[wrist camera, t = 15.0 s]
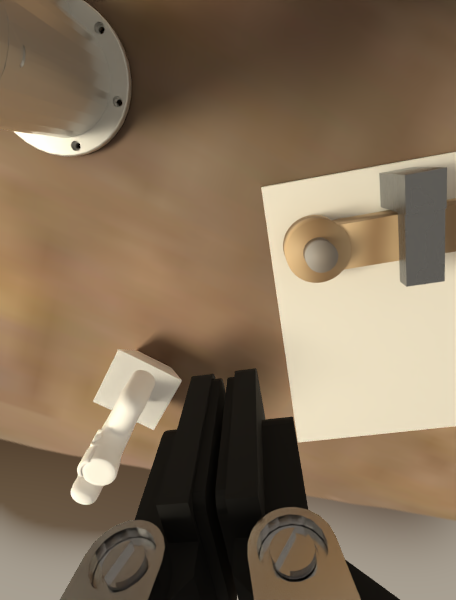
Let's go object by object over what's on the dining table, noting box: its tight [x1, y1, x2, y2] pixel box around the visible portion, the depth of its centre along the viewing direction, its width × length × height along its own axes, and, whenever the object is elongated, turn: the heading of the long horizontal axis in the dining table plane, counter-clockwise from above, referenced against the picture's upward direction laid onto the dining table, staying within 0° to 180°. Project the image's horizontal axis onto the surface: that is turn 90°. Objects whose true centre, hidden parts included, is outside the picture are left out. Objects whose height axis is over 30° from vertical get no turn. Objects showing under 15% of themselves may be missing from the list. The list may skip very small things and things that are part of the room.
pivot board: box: [261, 152, 456, 442], centre depth 38 cm, size 29×30×1 cm
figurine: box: [71, 349, 182, 505], centre depth 36 cm, size 7×9×15 cm
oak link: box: [283, 198, 456, 283], centre depth 32 cm, size 25×6×5 cm, turn 101°
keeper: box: [379, 167, 447, 287], centre depth 32 cm, size 9×3×6 cm, turn 10°
